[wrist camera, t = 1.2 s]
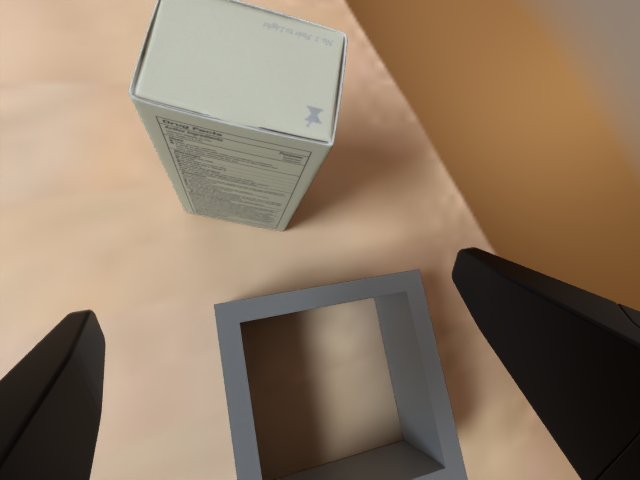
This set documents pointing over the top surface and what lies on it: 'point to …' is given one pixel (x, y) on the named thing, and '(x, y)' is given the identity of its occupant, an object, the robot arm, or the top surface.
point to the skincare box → (239, 105)
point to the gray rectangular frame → (405, 371)
